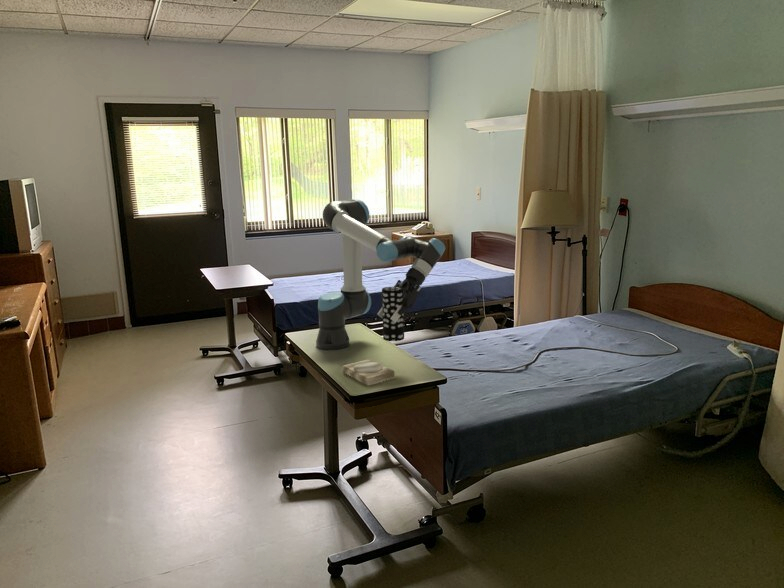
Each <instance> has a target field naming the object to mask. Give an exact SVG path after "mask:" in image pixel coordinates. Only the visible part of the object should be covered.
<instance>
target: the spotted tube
mask: <svg viewBox="0 0 784 588" xmlns="http://www.w3.org/2000/svg"><path fill="white" fill-rule="evenodd" d="M404 297H405V295H404V294H403V288H402V287H394V286H386V287H383V288H381V299H382V303H381V304H382V306H381V308H382V311H383V318H382V339H383V340H384V341H386V342H400V341H403V340H404V339H405V317H404V316H405V311H404V312H403V314H402V315H401V316H400V317H399V319H398V320H397V322H396V323H394V322H393V321H392V320H391V319H390V318H391V317H392V316H393V314H394V313H395V311H396V310H397V308H398V307H399V306H400V305H401V303H403V300H404ZM401 306H402V305H401Z"/></svg>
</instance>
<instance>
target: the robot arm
mask: <svg viewBox="0 0 784 588" xmlns="http://www.w3.org/2000/svg"><path fill="white" fill-rule="evenodd" d="M322 220H323V222H324V224H325V225H326V226H327V227H328V229H330V230H332V231H334V232H336V233H341V236H342V262H343V263H342V266H343V267H342V269H343V285H342V286H341V288H340V291H339V292H338V291H335V292H334V291H333V292H328V293H325V294H322V295H320V297H319V298H318V301H317V311H318V312H317V313H318V328H319V329H318V334H317V337H316V340H315V341H316V342H315V344H316V347H317V348H318V349H320V350H327V351H328V350H329V351H330V350H332V351H333V350H339V349H340V350H341V349H344V348H347V347H349V346H350V345H351V343H350V338H349V334H348V331H347V330H346V322H345V321H346V320H348V319H352V318H355V317H357V318H358V317H360V316H362V315H364V314H367V313H368V312H369V310H371V306H372V298H371V295H370V293H369V292H368V291H367V290H366V289H367V288H366V287H365V286H364V285H363V259H362V258H363V257H362V255H363V254H362V251H363V249H362V246H364V247H366V248H368V249H370V250H372V251H373V252H374V253H376V256H377V257H378V259H379V260H380V261H382V262H392V261H396V260H401V259H407V258H410V257H411V258H415V260H414V261H413V263H412V264H411V267H410V268H409V269H408V270H407V271H406V274H405V279H403V280H400V279H398V280H397V282H396V283H395V284H394V285H393V287H402V288H403V295H404V300H403V303H401V305H402V306H401V305H400V306H399V307H398V308H397V310H396V311H395V313H394V314H393V316H392V317H391V318H390V319H391V320H392V321H393V322H394V323H396V322H397V320H398V319H399V317H400V316H401V315H402V314H403V312H404V313H405V311H406V310H408V309H409V310H411V309H412V308H413V306H414V304H415V302H416V301H417V298H418V297H419V294H420V293H421V292H422V290H423V287H422V285H423V283H424V282H425V281H426V278H428V276H429V274H430V273H431V272H432V270H433V268H434V267H435V265H436V264H437V263H438V262H439V260H440V259H441V258H443V257H442V256H443V254H444V252H445V250H446V246H445V244H444V242H442V241H441V240H440V239H438V238H434V237H432V238H430V239H429V240H428V242H427V241H424V240H422V239H419V238H415V237H413V236H411V235H404V236H402V237H401V238H399V239H398V240H397V239H396V240H393V239H391V238H389V237H387V236H386V235H384V234H382V233H380V232H379V231H377V230H374V229H373V228H371V227H369V226H367V225H366V224H367V223H368V221H369V220H370V210H369V207H368V206H367V205H366V203H365V202H364V201H363V200H360V199H352V198H351V199H344V200H343V199H342V200H333V201H331V202H329V203H327V204H326V205H325V207H324V208H323V211H322ZM377 315H378V316H379V317H380V318H381V319H383V311H382V307H381V308H380V309H379V311H378V312H377Z"/></svg>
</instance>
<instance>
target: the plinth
mask: <svg viewBox="0 0 784 588" xmlns="http://www.w3.org/2000/svg"><path fill="white" fill-rule="evenodd" d="M342 373H343V374H345V375H346V374H347V375H346V376H348V375H349V377H350V376H351V378H352V379H354V380H356V381H358V382H360V383H362V384H364V385H366V386H373V385H376V384H379V382H380V383H384V382H386V380H387V381H390V379H391V380H395V370H393V369H391V368H389V367H387V366H385V365H382V364H381V363H379V362H376V361H373V360H371V359H368V358H367V359H365V360H360V361H356V362H352V363H347V364H343V365H342ZM383 381H384V382H383Z"/></svg>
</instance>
